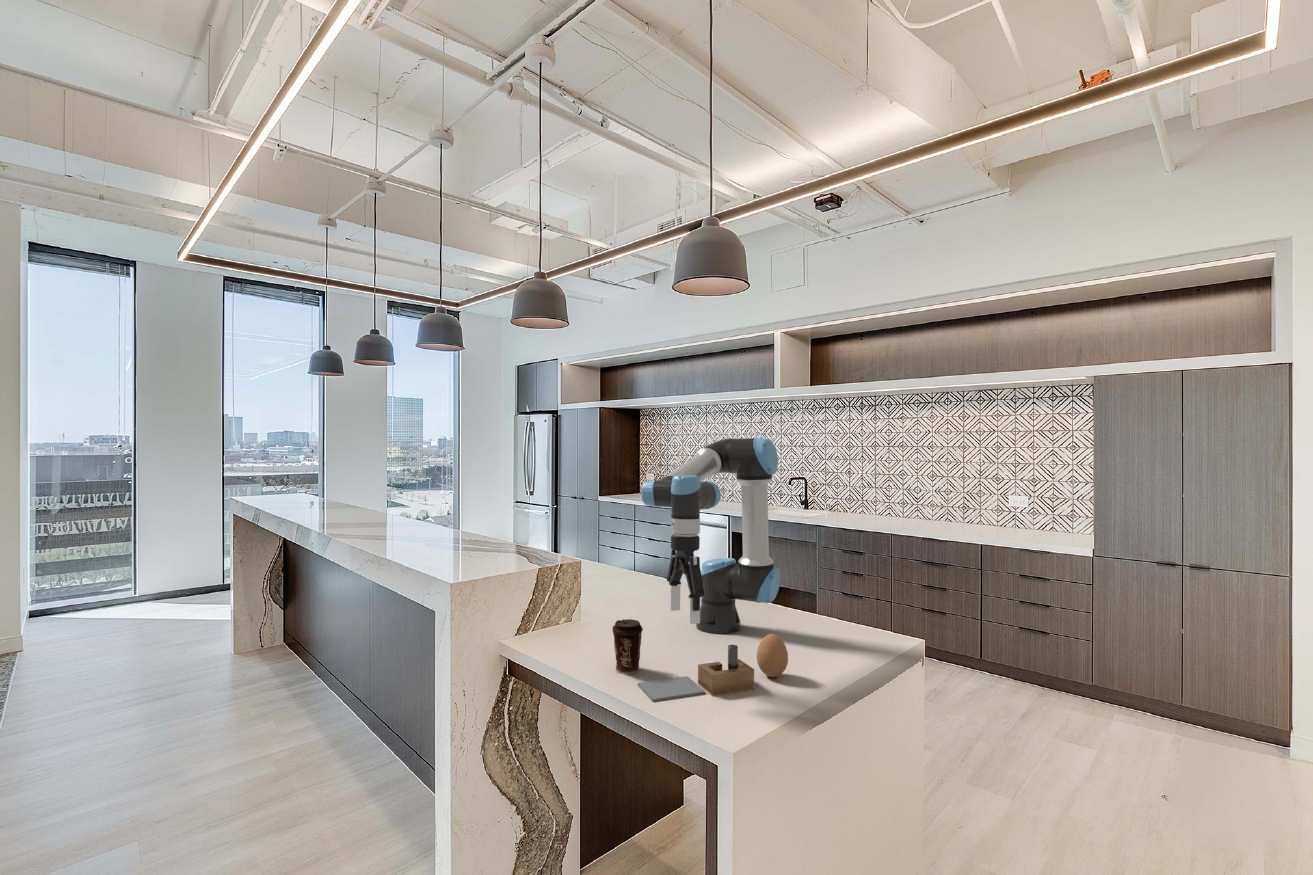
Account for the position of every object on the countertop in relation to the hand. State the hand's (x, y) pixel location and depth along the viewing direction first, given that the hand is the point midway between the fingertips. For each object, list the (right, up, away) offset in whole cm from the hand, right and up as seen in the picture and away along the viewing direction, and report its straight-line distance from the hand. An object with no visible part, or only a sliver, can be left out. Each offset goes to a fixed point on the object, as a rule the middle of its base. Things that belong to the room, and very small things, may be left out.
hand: (684, 616), depth 159 cm
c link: (+11, -17, -2) cm, 20 cm away
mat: (-4, -17, -5) cm, 18 cm away
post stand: (+12, -17, -2) cm, 21 cm away
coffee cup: (-15, -18, +9) cm, 25 cm away
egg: (+24, -18, +5) cm, 30 cm away
